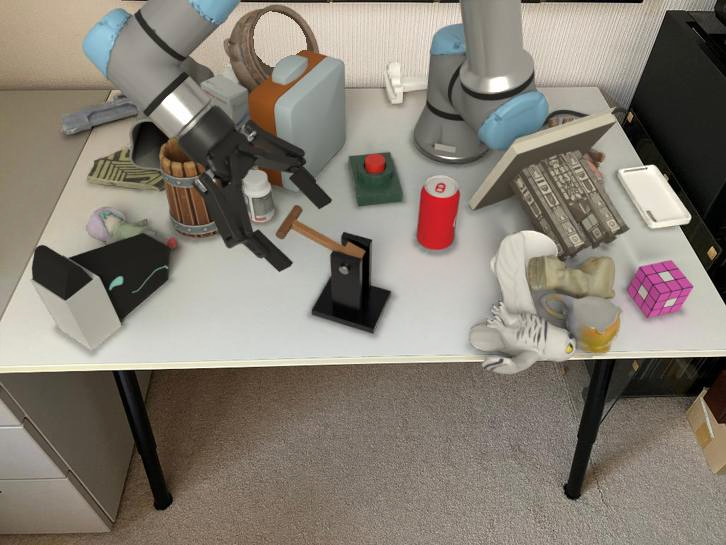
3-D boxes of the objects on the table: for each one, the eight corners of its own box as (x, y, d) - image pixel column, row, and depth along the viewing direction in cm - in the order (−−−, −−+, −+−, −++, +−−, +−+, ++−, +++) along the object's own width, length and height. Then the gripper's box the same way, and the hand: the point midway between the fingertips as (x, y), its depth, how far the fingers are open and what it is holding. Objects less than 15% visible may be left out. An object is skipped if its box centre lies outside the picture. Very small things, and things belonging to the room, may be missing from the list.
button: (382, 160, 115) (383, 152, 114) (386, 172, 112) (386, 164, 111) (363, 162, 114) (363, 154, 113) (366, 174, 112) (366, 166, 111)
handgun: (45, 89, 130) (60, 128, 121) (151, 64, 137) (173, 98, 129) (50, 104, 132) (66, 142, 124) (155, 78, 140) (176, 112, 131)
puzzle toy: (679, 310, 96) (694, 286, 92) (646, 318, 95) (660, 294, 91) (658, 283, 100) (671, 259, 95) (626, 290, 99) (638, 266, 94)
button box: (389, 161, 121) (390, 144, 118) (402, 201, 113) (403, 184, 110) (348, 165, 120) (348, 148, 117) (358, 206, 112) (358, 189, 109)
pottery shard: (127, 150, 122) (124, 142, 121) (179, 185, 115) (176, 176, 113) (79, 177, 117) (75, 168, 115) (129, 215, 109) (126, 206, 108)
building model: (468, 202, 111) (516, 289, 106) (515, 139, 93) (576, 241, 88) (555, 171, 118) (604, 252, 113) (616, 106, 99) (677, 199, 95)
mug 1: (221, 244, 105) (204, 174, 94) (162, 235, 106) (139, 164, 95) (250, 185, 115) (239, 116, 104) (196, 178, 117) (179, 108, 106)
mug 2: (609, 339, 83) (600, 367, 88) (631, 307, 87) (622, 335, 92) (529, 299, 89) (525, 328, 94) (553, 271, 93) (548, 299, 98)
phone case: (690, 223, 109) (653, 169, 118) (693, 218, 108) (655, 164, 117) (649, 229, 108) (615, 174, 118) (651, 223, 107) (617, 169, 117)
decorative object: (181, 273, 100) (159, 203, 89) (92, 351, 90) (55, 282, 79) (145, 253, 103) (120, 183, 92) (55, 326, 93) (14, 257, 82)
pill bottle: (279, 209, 111) (275, 172, 105) (266, 226, 108) (260, 189, 102) (256, 202, 112) (251, 165, 106) (242, 218, 109) (235, 181, 103)
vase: (227, 61, 131) (204, 134, 109) (208, 108, 138) (183, 186, 116) (169, 34, 127) (133, 105, 105) (153, 85, 134) (116, 161, 112)
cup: (555, 292, 98) (565, 262, 93) (494, 300, 97) (501, 271, 92) (537, 257, 103) (546, 227, 98) (479, 264, 102) (485, 234, 97)
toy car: (212, 102, 134) (205, 73, 129) (239, 75, 142) (233, 46, 137) (237, 106, 133) (230, 77, 128) (262, 78, 140) (257, 50, 135)
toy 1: (150, 251, 96) (68, 216, 98) (147, 280, 99) (67, 245, 101) (189, 225, 105) (113, 193, 108) (186, 251, 108) (111, 220, 110)
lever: (273, 238, 87) (277, 228, 85) (291, 211, 91) (295, 200, 89) (349, 280, 87) (355, 270, 85) (364, 251, 91) (370, 241, 89)
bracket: (311, 315, 95) (306, 257, 85) (332, 278, 100) (329, 220, 90) (373, 334, 93) (375, 276, 83) (391, 295, 98) (394, 237, 88)
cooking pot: (293, 30, 143) (328, 13, 134) (301, 113, 144) (337, 101, 135) (196, 9, 126) (229, -12, 117) (206, 104, 127) (240, 89, 118)
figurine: (581, 108, 123) (618, 175, 110) (575, 130, 127) (611, 196, 114) (547, 112, 123) (580, 179, 110) (542, 133, 127) (574, 200, 114)
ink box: (256, 141, 124) (249, 88, 116) (238, 152, 122) (229, 99, 113) (228, 124, 128) (219, 72, 119) (210, 134, 126) (199, 82, 117)
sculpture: (621, 255, 94) (552, 252, 87) (622, 303, 94) (552, 304, 86) (590, 257, 99) (521, 254, 92) (591, 302, 99) (522, 303, 92)
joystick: (391, 108, 133) (483, 101, 134) (393, 76, 127) (488, 69, 129) (383, 81, 140) (470, 74, 142) (384, 49, 134) (474, 43, 136)
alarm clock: (309, 131, 127) (303, 34, 111) (347, 143, 124) (346, 46, 109) (258, 182, 116) (243, 82, 100) (298, 197, 113) (289, 97, 98)
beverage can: (456, 232, 107) (465, 177, 98) (448, 257, 103) (456, 202, 94) (421, 224, 109) (427, 169, 100) (411, 248, 105) (416, 193, 96)
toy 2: (540, 222, 89) (581, 290, 96) (458, 248, 96) (501, 309, 104) (532, 354, 73) (581, 423, 80) (434, 373, 80) (487, 435, 88)
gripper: (226, 88, 91) (325, 191, 99) (125, 191, 75) (251, 304, 83) (254, 61, 86) (356, 172, 94) (152, 166, 70) (283, 289, 78)
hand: (307, 234), depth 88 cm, fingers open, 13 cm apart
